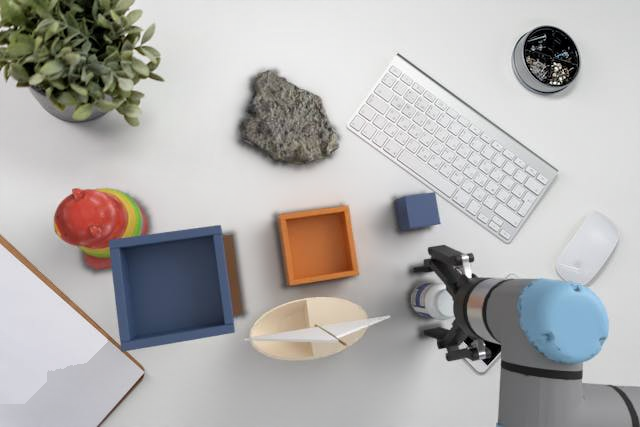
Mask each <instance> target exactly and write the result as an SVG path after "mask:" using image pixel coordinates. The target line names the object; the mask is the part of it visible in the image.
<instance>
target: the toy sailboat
mask: <svg viewBox="0 0 640 427" xmlns="http://www.w3.org/2000/svg"><path fill="white" fill-rule="evenodd" d="M390 318H391V315H383V316H376V317H371V318H368V315H367V312H366V311H365V309H363V308H362V307H361V306H360V305H359V304H357V303H354V302H352V301H350V300H348V299H344V298H343V299H342V298H339V297H332V296H331V297H329V296H316V297H304V298H301V299H296V300H291V301H288V302H286V303H283V304H280V305H277V306H275V307H274V308H271V309H270V310H268V311H266V312H264V313H263V314H262V315H261V316H260V317H259V318H258V319H257V320H255V322H254V323H253V325H252V327H251V328H250V330H249V337H245V338H244V341H247V342H248V341H250V343H251V346H252V347H253V348H254V349H255V350H256V351H258V353H260V354H262V355H265V356H267V357H269V358H273V359H277V360H282V361H298V362H300V361H309V360H310V361H311V360H316V359H320V358H324V357H328V356H332V355H334V354H337V353H339V352H342V351H344V350H345V349H348V348H349V347H351V346H353V345H354V344H355V343H357V342H358V341H359V340H360V339H361V338H362V337H363V336H364V335H365V333H366V331H367V329H368V327H370V326H372V325H375V324H378V323H379V322H383V321H384V320H388V319H390Z"/></svg>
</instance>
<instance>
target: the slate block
mask: <svg viewBox="0 0 640 427" xmlns="http://www.w3.org/2000/svg"><path fill="white" fill-rule="evenodd" d="M436 194H437V193H436V192H435V191H432V192H424V193H418V194H410V195H404V196H401V197H400V198H397V199H395V200H394V203H395V209H396V215H397V221H398V228H399V231H408V230H415V229H421V228H428V227H434V226H438V225H441V218H440V213H439V206H438V202H437V195H436Z"/></svg>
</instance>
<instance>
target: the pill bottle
mask: <svg viewBox="0 0 640 427" xmlns="http://www.w3.org/2000/svg"><path fill="white" fill-rule="evenodd" d="M453 302H454V301H453V300H452V296H451V295H450V294H449V293H448V292H447V291H446V285H445V284H444V283H443V282H442V283H439V282H424V283H420V284H418V285H417V286H416V287H415V288H414V289H413V290H412V293H411V296H410V304H411V306H412V309H413V310H414V311H415V313H416V314H418V315H419V316H422V317H424V318H429V319H433V320H438V321H447V320H450V319H452V318H453V317H454V312H453ZM454 318H455V317H454Z"/></svg>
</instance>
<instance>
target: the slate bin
mask: <svg viewBox="0 0 640 427" xmlns="http://www.w3.org/2000/svg"><path fill="white" fill-rule="evenodd" d="M233 236H234V235H233V234H228V235H223V228H222V225H221V224H217V225H208V226H202V227H194V228H187V229H180V230H171V231H164V232H156V233H149V234H146V235H141V236H134V237H126V238H119V239H111V240H109V249H110V258H111V267H110V268H111V274H112V282H113V290H114V291H113V292H114V300H115V307H116V308H115V309H116V317H117V318H116V319H117V327H118V334H119V342H120V344H119V345H120V352H122V353H123V352H129V351H135V350H140V349H141V350H142V349H146V348H153V347H154V348H155V347H159V346H164V345H165V346H166V345H171V344H176V343H182V342H183V343H184V342H189V341H194V340H195V341H196V340H200V339H201V340H202V339H206V338H213V337H217V336H223V335H228V334H229V335H230V334H234V333H235V332H236V325H235V319H234V318H235V317H234V316H241V315H244V310H243V303H242V296H241V288H240V280H239V275H238V265H237V258H236V251H235V243H234V237H233Z"/></svg>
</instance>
